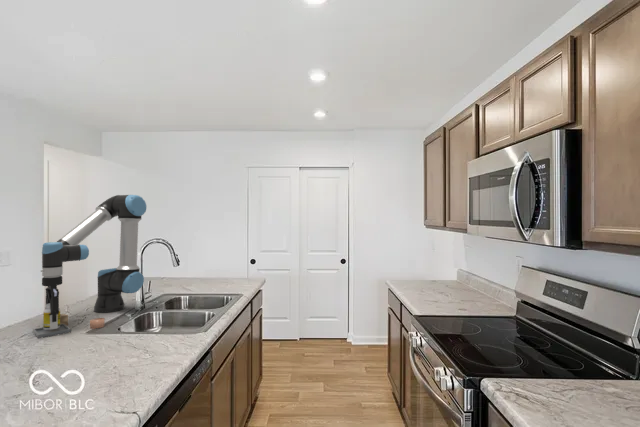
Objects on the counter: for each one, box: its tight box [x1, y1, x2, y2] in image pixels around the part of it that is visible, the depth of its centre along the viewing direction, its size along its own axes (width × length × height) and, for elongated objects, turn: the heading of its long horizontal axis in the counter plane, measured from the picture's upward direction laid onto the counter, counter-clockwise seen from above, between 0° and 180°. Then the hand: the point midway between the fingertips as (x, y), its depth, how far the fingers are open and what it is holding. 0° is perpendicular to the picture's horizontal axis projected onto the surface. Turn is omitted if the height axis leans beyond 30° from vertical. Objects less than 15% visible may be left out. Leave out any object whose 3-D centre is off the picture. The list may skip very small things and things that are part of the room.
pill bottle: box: [42, 303, 61, 330], centre depth 169 cm, size 6×6×11 cm
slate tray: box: [32, 324, 72, 339], centre depth 169 cm, size 12×12×2 cm
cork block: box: [60, 313, 69, 326], centre depth 180 cm, size 5×5×5 cm
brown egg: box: [89, 317, 106, 330], centre depth 178 cm, size 6×6×4 cm
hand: (51, 327), depth 169 cm, fingers closed on pill bottle, 6 cm apart
